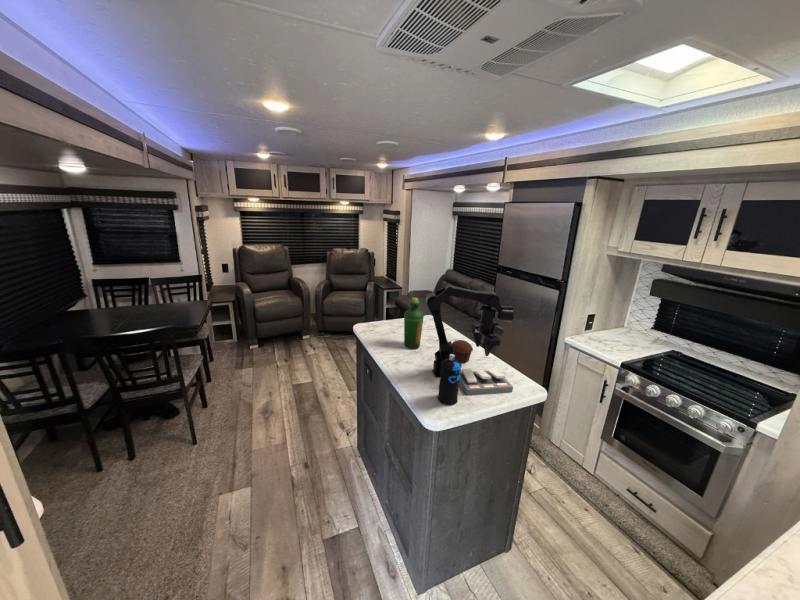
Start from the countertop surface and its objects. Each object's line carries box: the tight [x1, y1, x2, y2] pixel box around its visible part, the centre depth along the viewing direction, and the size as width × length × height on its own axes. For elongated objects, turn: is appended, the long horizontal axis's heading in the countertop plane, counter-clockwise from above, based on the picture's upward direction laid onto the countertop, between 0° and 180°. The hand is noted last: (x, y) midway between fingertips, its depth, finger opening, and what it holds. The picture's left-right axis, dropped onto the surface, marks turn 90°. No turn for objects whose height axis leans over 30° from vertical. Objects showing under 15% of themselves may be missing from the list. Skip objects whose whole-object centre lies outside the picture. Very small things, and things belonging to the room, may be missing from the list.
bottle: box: [403, 297, 425, 350], centre depth 168 cm, size 11×11×28 cm
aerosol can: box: [437, 354, 463, 406], centre depth 123 cm, size 8×8×20 cm
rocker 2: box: [474, 370, 491, 379], centre depth 138 cm, size 4×8×2 cm, turn 10°
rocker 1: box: [461, 368, 477, 383], centre depth 137 cm, size 4×8×2 cm, turn 10°
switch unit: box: [459, 369, 514, 396], centre depth 138 cm, size 21×14×3 cm, turn 100°
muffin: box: [451, 339, 474, 364], centre depth 159 cm, size 12×11×10 cm
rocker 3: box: [487, 369, 506, 379], centre depth 139 cm, size 4×8×2 cm, turn 10°
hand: (482, 351), depth 142 cm, fingers open, 9 cm apart
